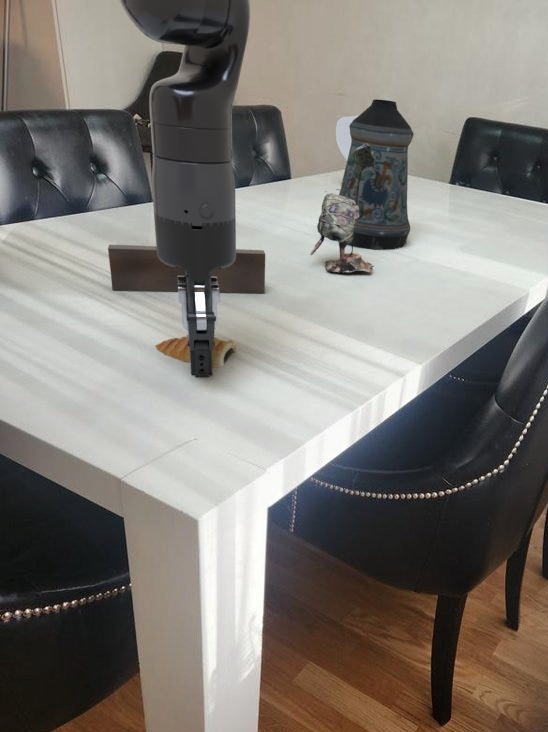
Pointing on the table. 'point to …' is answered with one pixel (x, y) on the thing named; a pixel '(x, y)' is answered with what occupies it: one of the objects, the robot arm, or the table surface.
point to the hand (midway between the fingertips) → (201, 378)
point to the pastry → (181, 351)
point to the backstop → (181, 271)
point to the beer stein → (380, 177)
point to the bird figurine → (344, 220)
